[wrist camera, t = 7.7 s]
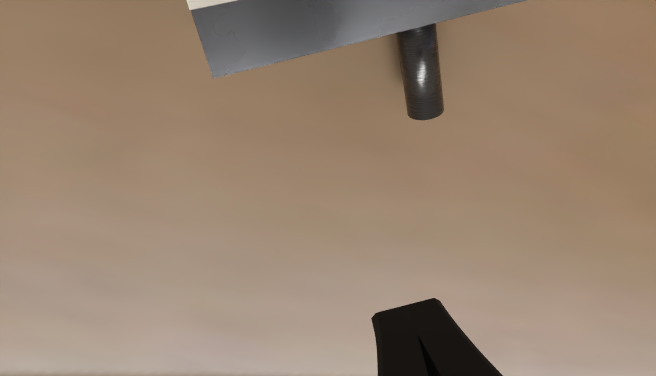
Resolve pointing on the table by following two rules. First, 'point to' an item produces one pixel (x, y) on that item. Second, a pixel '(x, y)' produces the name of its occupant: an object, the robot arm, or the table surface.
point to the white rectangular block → (204, 3)
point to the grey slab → (334, 36)
